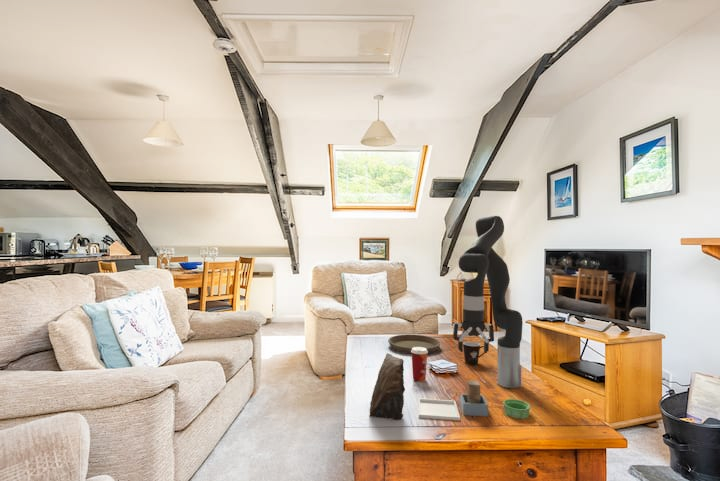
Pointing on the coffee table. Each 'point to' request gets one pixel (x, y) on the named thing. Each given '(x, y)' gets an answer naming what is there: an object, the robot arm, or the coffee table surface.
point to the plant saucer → (413, 343)
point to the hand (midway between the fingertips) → (473, 352)
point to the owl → (389, 390)
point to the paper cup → (419, 363)
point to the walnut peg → (473, 391)
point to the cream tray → (438, 409)
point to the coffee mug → (471, 352)
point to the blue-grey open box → (474, 406)
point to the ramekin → (516, 408)
